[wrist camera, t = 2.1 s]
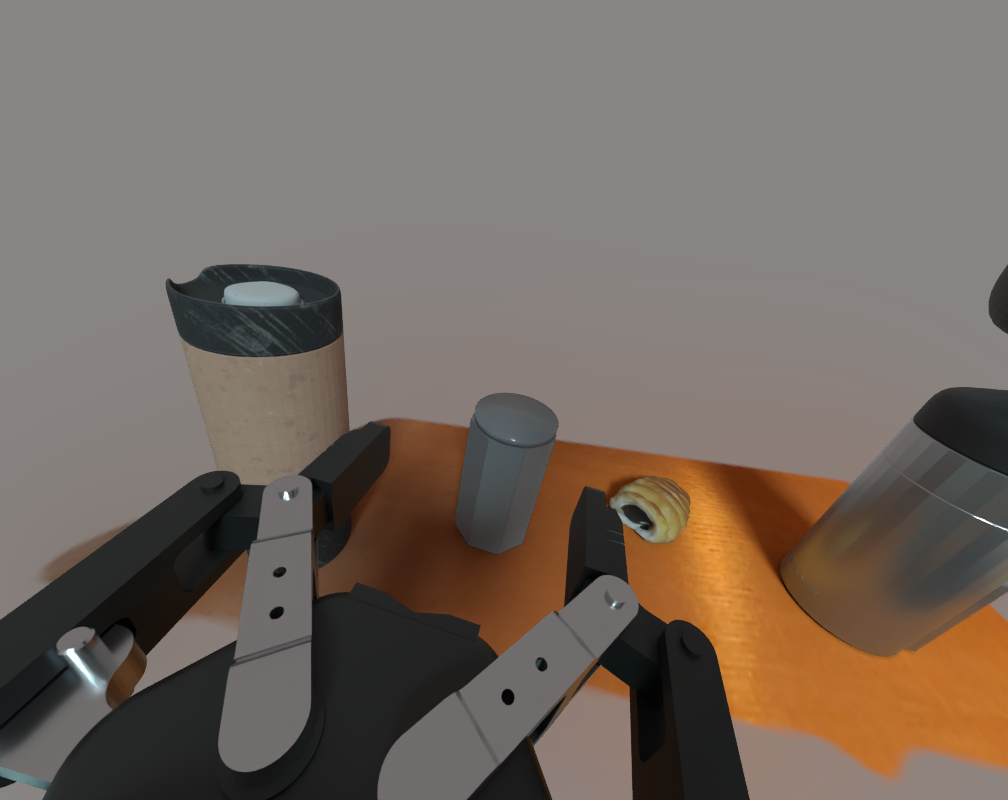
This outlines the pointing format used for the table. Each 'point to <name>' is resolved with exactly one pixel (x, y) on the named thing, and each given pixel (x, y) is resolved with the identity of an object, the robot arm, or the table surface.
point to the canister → (503, 469)
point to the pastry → (653, 508)
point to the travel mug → (266, 370)
